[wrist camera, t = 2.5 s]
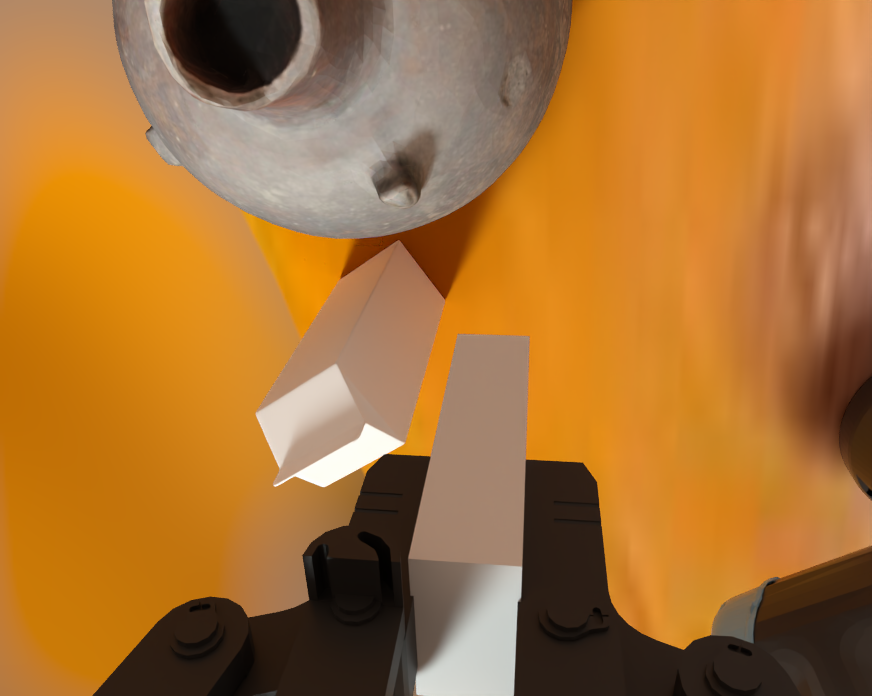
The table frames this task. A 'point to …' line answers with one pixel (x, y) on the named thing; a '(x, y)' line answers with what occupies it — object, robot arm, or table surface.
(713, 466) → the table surface
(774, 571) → the table surface
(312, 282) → the table surface
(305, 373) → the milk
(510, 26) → the jug
